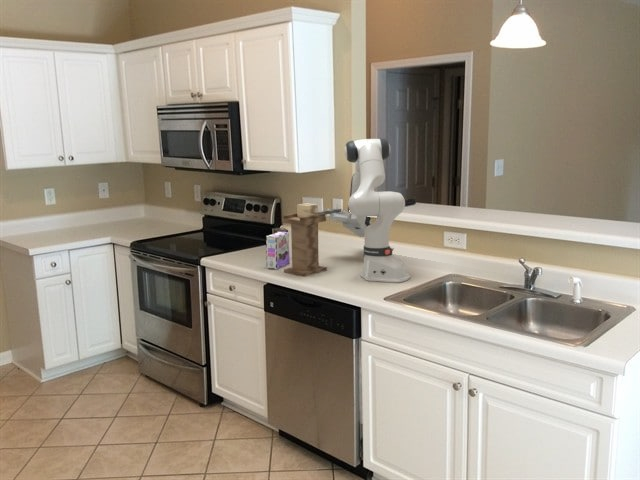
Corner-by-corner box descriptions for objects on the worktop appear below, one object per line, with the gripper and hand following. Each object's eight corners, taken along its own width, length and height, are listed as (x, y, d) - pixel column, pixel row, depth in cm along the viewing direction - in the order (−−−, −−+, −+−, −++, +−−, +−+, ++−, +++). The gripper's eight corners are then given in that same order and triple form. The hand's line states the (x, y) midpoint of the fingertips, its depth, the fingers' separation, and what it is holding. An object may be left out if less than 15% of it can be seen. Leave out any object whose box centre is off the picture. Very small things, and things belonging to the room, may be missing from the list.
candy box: (276, 269, 287) (275, 236, 284) (266, 268, 289) (265, 235, 286) (290, 263, 299) (289, 231, 296) (279, 262, 302) (279, 231, 299)
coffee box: (289, 260, 307) (288, 229, 304) (277, 261, 305) (276, 230, 302) (284, 256, 316) (283, 227, 313) (272, 258, 313) (271, 228, 310)
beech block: (333, 210, 299) (333, 199, 298) (345, 212, 294) (345, 200, 293) (297, 217, 281) (297, 204, 279) (309, 218, 275) (309, 205, 274)
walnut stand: (307, 266, 293) (306, 211, 288) (326, 270, 285) (325, 213, 279) (284, 272, 282) (282, 215, 276) (303, 276, 273) (302, 217, 268)
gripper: (337, 214, 312) (322, 203, 302) (368, 217, 298) (353, 206, 288) (334, 225, 311) (318, 214, 301) (364, 229, 297) (349, 218, 287)
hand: (335, 210), depth 294 cm, fingers open, 8 cm apart
